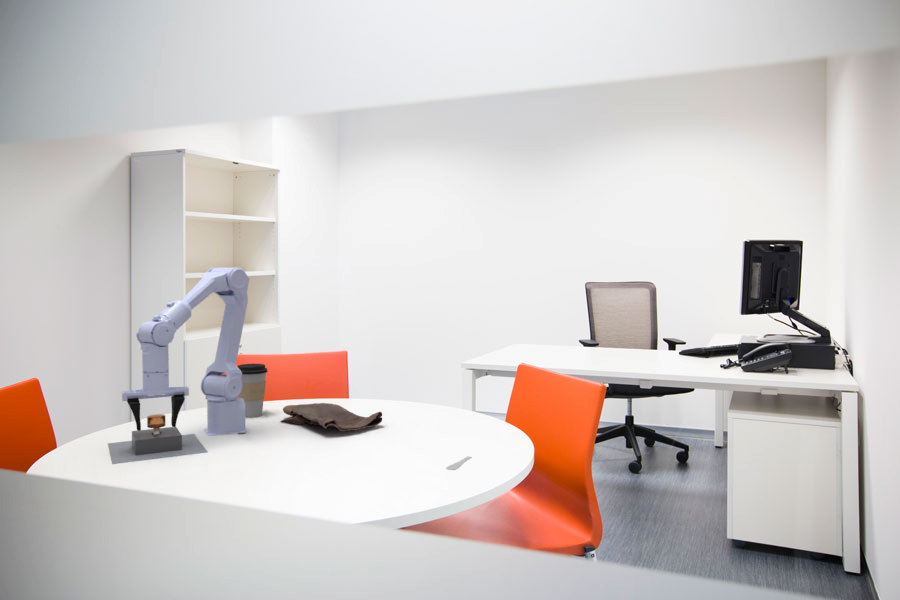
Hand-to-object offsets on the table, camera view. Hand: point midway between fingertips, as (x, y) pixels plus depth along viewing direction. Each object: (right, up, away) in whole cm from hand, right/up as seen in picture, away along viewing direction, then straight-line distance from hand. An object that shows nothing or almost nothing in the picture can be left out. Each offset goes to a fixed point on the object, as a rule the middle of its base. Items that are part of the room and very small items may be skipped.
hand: (156, 427), depth 157 cm
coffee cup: (+11, -4, +39) cm, 41 cm away
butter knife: (+75, -7, -4) cm, 76 cm away
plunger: (0, -5, 0) cm, 5 cm away
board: (0, -5, 0) cm, 5 cm away
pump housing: (0, -5, 0) cm, 5 cm away
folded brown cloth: (+36, -5, +29) cm, 46 cm away
